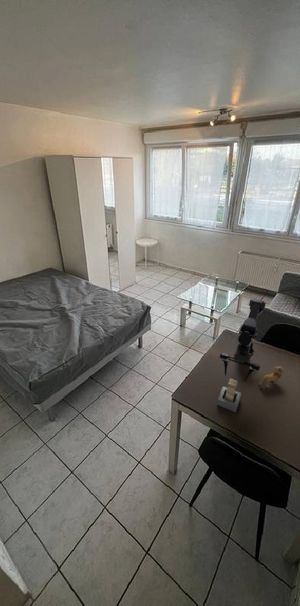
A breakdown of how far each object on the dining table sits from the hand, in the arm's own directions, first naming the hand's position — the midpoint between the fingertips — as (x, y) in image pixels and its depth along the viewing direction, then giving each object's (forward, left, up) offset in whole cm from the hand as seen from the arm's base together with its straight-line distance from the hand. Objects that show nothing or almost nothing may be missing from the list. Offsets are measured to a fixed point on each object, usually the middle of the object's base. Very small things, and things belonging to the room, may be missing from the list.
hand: (234, 378), depth 125 cm
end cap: (+2, -5, -11) cm, 12 cm away
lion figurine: (+7, +23, -11) cm, 26 cm away
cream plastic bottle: (+2, -5, -10) cm, 12 cm away
